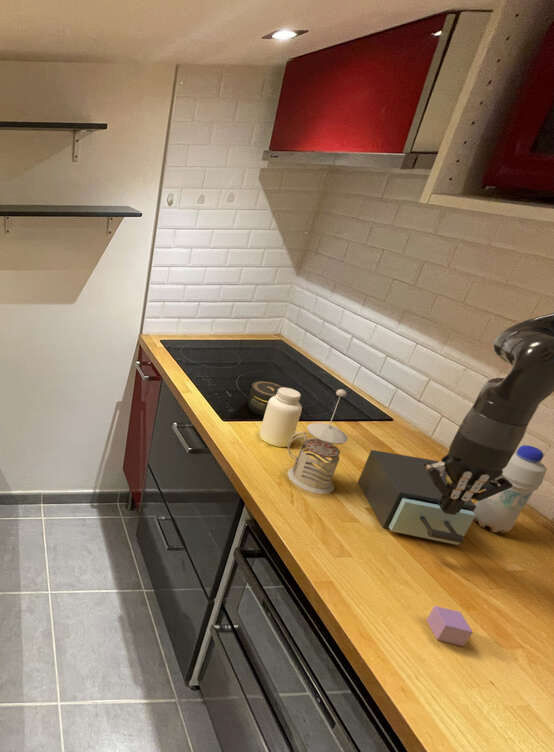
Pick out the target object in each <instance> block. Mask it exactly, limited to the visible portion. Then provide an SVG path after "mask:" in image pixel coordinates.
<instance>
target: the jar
mask: <svg viewBox="0 0 554 752" xmlns="http://www.w3.org/2000/svg"><path fill="white" fill-rule="evenodd" d="M279 388H285V387H284V386H282V385H280V384H277V383H275V382H271V381H262V380H261V381H256V382H254V383H253V384H252V385H251V388H250V391H249V396H248V400H247V405H248V408H249V410H250V411H251V412H252V413H254V414H255V415H257V416H260V417H264V415H265V412H266V408H267V405H268V401H269V400H270V398H271V397H273V396H276V394H277V392H278V389H279Z"/></svg>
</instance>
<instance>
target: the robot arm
mask: <svg viewBox="0 0 554 752" xmlns="http://www.w3.org/2000/svg"><path fill="white" fill-rule="evenodd" d="M492 347H493V348H492V349H493V352H494V354H495V355H496V357H498V358H499V359H500V360H501V361H503V362H504V363H506V364H507V365H509V366H510V367H511V370H510V372H509V373H508V374H507V375H506V376H504V377H495V378H491V379H488V380H486V382H485V383H484V384H483V386H482V387H481V389H480V390H479V392H478V394H477V396H476V398H475V400H474V402H473V404H472V406H471V408H470V409H469V410H468V412H467V413H466V414H465V416H464V418H463V419H462V421H461V424H460V425H459V427H458V428H457V431H456V433H455V435H454V437H453V439H452V440H451V443H450V445H449V449H448V453H447V454H446V455H445V456H443V457H442V458H441V461H438V463H435V464H431V463H430V462H425V463H424V467H425V469H426V470H427V472H428V474H429V476H430V478H431V480H432V481H433V483H434V485H435V486H436V487H437V489H438V490H439V491H440V492H441V493H442V494H443V495H442V497H441V499H440V500H439V502H438V505H439V506H440V508H441V509H442V511H443V512H444V513H447V514H452V515H455V514H456V513H458V512H460V510H461V508H462V507H463V505H464V503H465V502H466V501H469V500H470V499H471V500H474V501H476V502H477V501H481V500H483V499H486V498H488V497H490V496H493V495H495V494H497V493H500V492H502V491H504V490H507V489H509V488H511V487H512V486H513V485H512V483H510V481H509V480H508V479H507V478H505V477H504V476H503V475H502V474H503V470H502V469H504V468H505V467H506V466H507V464H508V463H509V461H510V459H511V458H512V456H513V454H514V453H516V452H517V450H518V448H519V447H520V444H521V442H522V440H523V439H524V437H525V435H526V432H527V429H528V426H529V424H530V422H531V421H532V419H533V418H534V416H535V414H536V412H537V410H538V409H539V407H540V405H541V403H542V402H543V401H545V400H546V399H547V398H548V397H550V396H551V395H552V394H553V393H554V312H551V313H548V314H543V315H540V316H537V317H533V318H529V319H526V320H524V321H520V322H518V323H516V324H513V325H511V326H509V327H508V328H506V329H505V330H503V331H502V332H501V333H500V334H499V335H497V337H496V338H495V339H494V342H493V345H492ZM444 469H445V471H446V473H447V476H446V480H447V481H446V484H445V483H444V481H443V480H442V478H441V476H443V470H444ZM485 489H486V490H485Z"/></svg>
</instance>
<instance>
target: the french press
mask: <svg viewBox="0 0 554 752" xmlns="http://www.w3.org/2000/svg"><path fill="white" fill-rule="evenodd" d="M335 394H336V396H339V397H338V399H337V402H336V405H335V406H334V411H333V414H332V415H331V419H330V422H329V423H326V422H325V423H324V422H314V423H309V424H308V425H307V426H306V430H307V432H308V434H309V435H310V436H312V437H313V438H308V436H307V432H306V431H298V432H295V433H294V435H292V436H291V437H290V439H289V441H288V444H287V446H286V448H287V451H288V455H289V456H290V457H291V459H293V461H294V464H293V467H290V468H289V469H288V470H287V474H286V475H287V477H288V479H289V480H290V482H292V484H294V485H295V486H297V487H299V488H300V489H302V490H304V491H306V492H309V493H312V494H318V495H327V494H328V495H329V494H332V492H333V491H334V490H335V489H334V488H335V486H334V484H333V482H332V480H333V477H334V475H335V473H336V469H337V467H338V464H339V462H340V455H341V451H340V449H339V447H337V446H336V445H343V444H345V443H346V442H348V440H349V436H348V435H347V434H346V433H345V431H343V430H341V429H340V428H338V427H337V426H334V425H332V422H333V420H334V419H333V418H334V416H335V413H336V410H337V407H338V405H339V402H340V399H341V397H344V398H345V397H346V396H347V391H346V390H345V389H342V388H341V389H337V390H336V391H335ZM301 433H304V434H303V435H298V434H301ZM297 435H298V436H297ZM295 436H296V437H295ZM292 437H293V439H292V441H291V443H290V444H289V442H290V440H291V438H292ZM302 437H303V440H304V442H303V444H301V445H300V449H299V453H298V455H295V454H294V453H292V452H291V448H290V447H291V445H292V444H293V442H294V441H295V440H297V439H298V438H299V439H300V438H302ZM309 451H310V452H309ZM328 458H329V459H328ZM330 459H331V460H330ZM325 461H326V462H325ZM316 465H317V466H316Z"/></svg>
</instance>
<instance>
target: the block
mask: <svg viewBox="0 0 554 752" xmlns="http://www.w3.org/2000/svg"><path fill="white" fill-rule="evenodd" d="M425 621H426V622H427V624H428V626H429V628H430V630H431V631H432V633H433V635H434V637H435V639H436V641H439V642H444V643H448V644H452V645H455V646H459V647H464V646H465V645H466V644H467V642H468V640H469V639H470V638H471V636H472V634H473V633H474V631H473V630H472V628H471V627H470V625H469V623H468V621H467V620H466V619H465V617H464V615H463V614H462V612H461V611H458V610H453V609H450V608H445V607H441V606H437V605H434V606H433V607H432V609H431V611H430V613H429V614H428V616H427V618H426V619H425Z"/></svg>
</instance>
